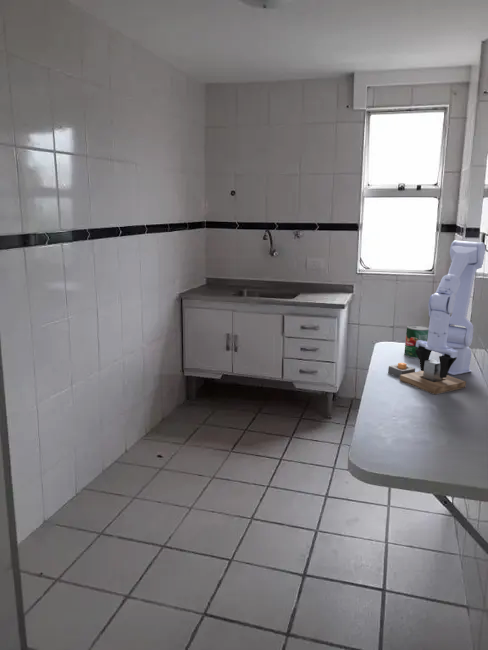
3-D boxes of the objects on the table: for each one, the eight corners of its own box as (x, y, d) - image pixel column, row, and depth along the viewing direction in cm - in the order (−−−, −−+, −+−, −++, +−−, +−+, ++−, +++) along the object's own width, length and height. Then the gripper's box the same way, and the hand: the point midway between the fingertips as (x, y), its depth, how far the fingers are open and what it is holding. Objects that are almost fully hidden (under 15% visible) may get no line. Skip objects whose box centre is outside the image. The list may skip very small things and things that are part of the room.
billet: (431, 380, 177) (433, 359, 176) (441, 383, 174) (443, 362, 172) (422, 381, 175) (424, 360, 174) (432, 385, 172) (435, 364, 170)
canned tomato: (429, 356, 207) (432, 327, 205) (419, 360, 202) (423, 330, 199) (410, 351, 212) (413, 323, 210) (400, 355, 207) (403, 326, 204)
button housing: (400, 370, 188) (401, 363, 187) (414, 375, 183) (415, 368, 182) (388, 373, 184) (388, 366, 184) (401, 378, 179) (402, 371, 179)
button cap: (401, 369, 185) (402, 362, 185) (407, 371, 183) (408, 364, 182) (395, 370, 184) (396, 363, 183) (401, 372, 181) (402, 365, 181)
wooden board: (429, 375, 184) (430, 369, 184) (465, 387, 172) (466, 381, 172) (399, 380, 177) (400, 374, 177) (434, 394, 165) (435, 388, 165)
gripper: (411, 328, 175) (406, 369, 178) (448, 338, 163) (443, 382, 166) (426, 326, 178) (421, 366, 182) (464, 336, 166) (458, 379, 169)
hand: (433, 373), depth 174 cm, fingers open, 7 cm apart
